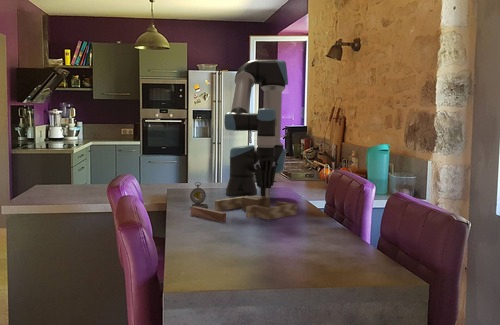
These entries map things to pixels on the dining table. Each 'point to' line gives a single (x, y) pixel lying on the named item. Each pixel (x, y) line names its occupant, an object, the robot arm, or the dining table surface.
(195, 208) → the brown wooden pieces
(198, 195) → the pocket watch
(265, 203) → the block
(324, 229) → the dining table surface
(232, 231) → the dining table surface
